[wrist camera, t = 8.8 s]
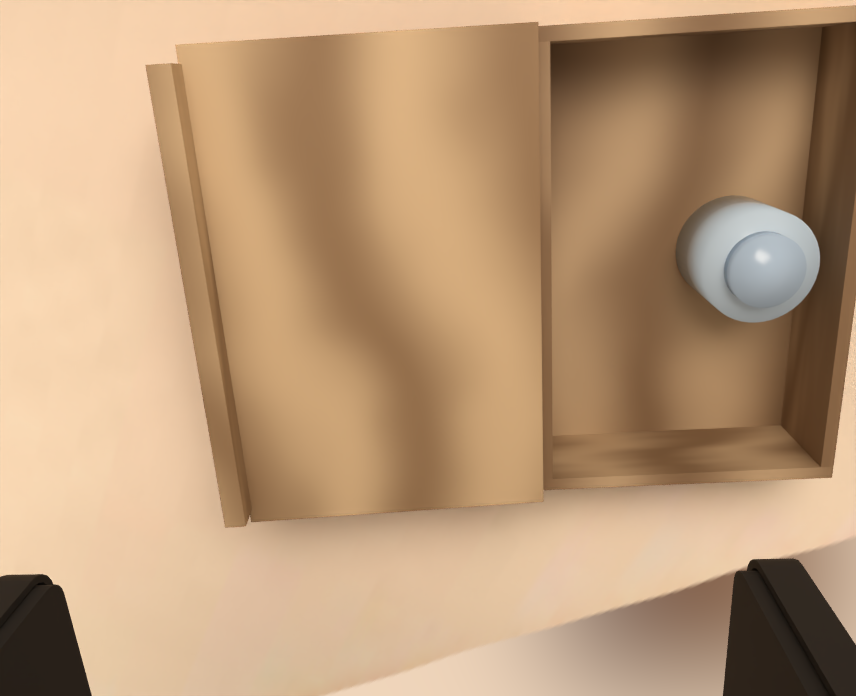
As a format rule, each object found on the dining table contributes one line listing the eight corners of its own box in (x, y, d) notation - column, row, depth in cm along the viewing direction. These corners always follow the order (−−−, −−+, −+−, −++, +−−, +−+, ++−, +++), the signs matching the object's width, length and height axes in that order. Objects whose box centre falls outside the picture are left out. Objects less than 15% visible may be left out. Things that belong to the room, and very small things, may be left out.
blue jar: (785, 192, 32) (835, 209, 28) (775, 294, 33) (821, 325, 29) (678, 198, 32) (712, 216, 28) (673, 300, 33) (704, 331, 29)
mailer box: (830, 12, 30) (894, 2, 26) (786, 430, 36) (831, 477, 32) (522, 33, 30) (535, 26, 26) (529, 441, 36) (540, 490, 32)
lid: (141, 44, 24) (159, 46, 26) (227, 540, 30) (237, 515, 32) (544, 19, 24) (535, 23, 26) (548, 518, 30) (541, 494, 32)
